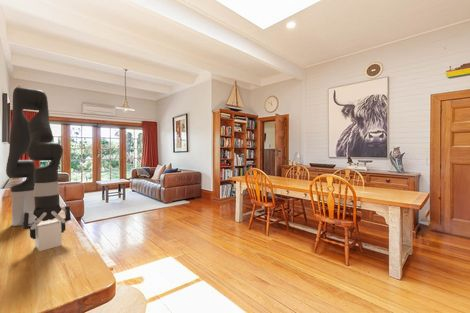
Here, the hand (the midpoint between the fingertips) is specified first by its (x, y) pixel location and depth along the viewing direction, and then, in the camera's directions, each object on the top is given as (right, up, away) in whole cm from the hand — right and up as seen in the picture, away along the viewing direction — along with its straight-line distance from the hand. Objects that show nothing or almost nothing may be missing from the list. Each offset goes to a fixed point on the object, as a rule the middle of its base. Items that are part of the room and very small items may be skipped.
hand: (48, 235), depth 89 cm
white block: (0, -4, 0) cm, 4 cm away
